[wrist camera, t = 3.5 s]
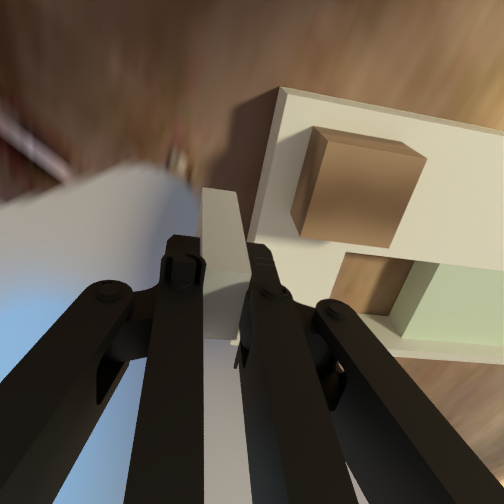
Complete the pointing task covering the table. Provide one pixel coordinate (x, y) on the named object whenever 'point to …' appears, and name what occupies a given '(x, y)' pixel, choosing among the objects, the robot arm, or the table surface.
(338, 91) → the table surface
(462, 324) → the tray
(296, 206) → the block
